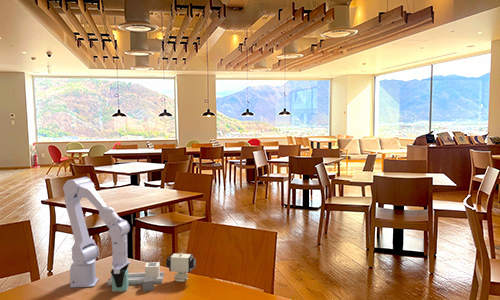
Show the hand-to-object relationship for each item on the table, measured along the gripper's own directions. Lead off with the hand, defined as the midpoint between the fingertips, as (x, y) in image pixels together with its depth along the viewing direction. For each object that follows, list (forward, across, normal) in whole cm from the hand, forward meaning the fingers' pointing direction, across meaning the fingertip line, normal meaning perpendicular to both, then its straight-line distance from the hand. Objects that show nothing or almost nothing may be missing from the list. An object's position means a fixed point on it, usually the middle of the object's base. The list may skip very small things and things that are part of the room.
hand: (120, 284), depth 161 cm
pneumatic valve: (+2, +6, -24) cm, 25 cm away
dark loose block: (+2, -1, -11) cm, 11 cm away
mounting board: (+2, +8, -5) cm, 10 cm away
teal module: (+2, 0, 0) cm, 2 cm away
